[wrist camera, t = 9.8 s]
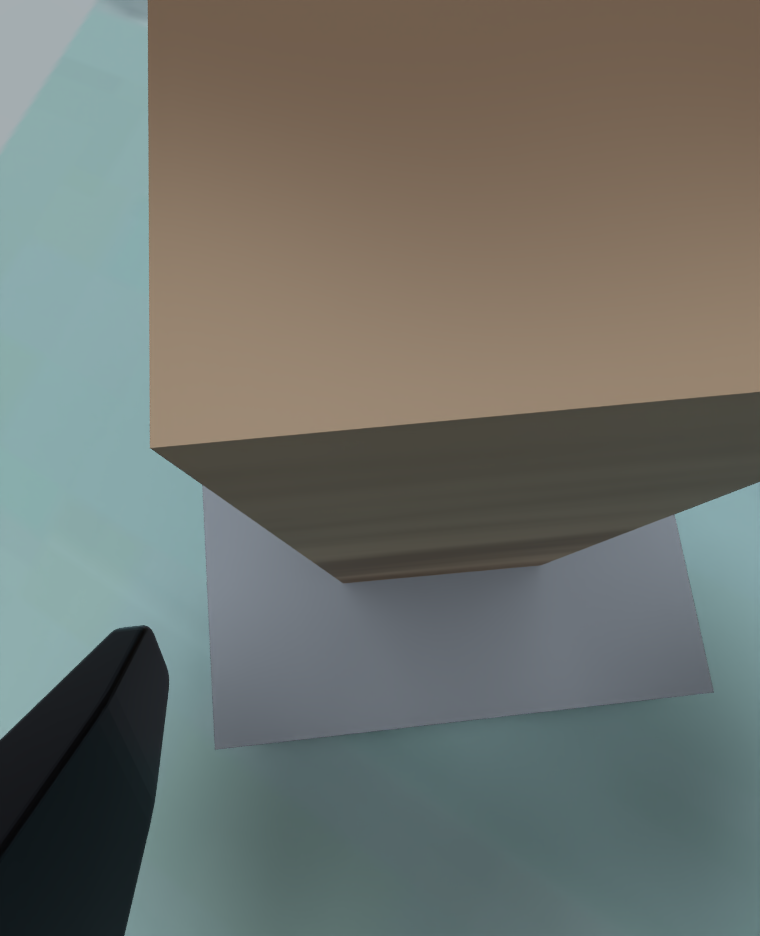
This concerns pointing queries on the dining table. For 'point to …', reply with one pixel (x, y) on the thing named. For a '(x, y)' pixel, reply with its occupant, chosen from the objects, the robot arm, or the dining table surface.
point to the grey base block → (439, 636)
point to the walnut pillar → (455, 269)
